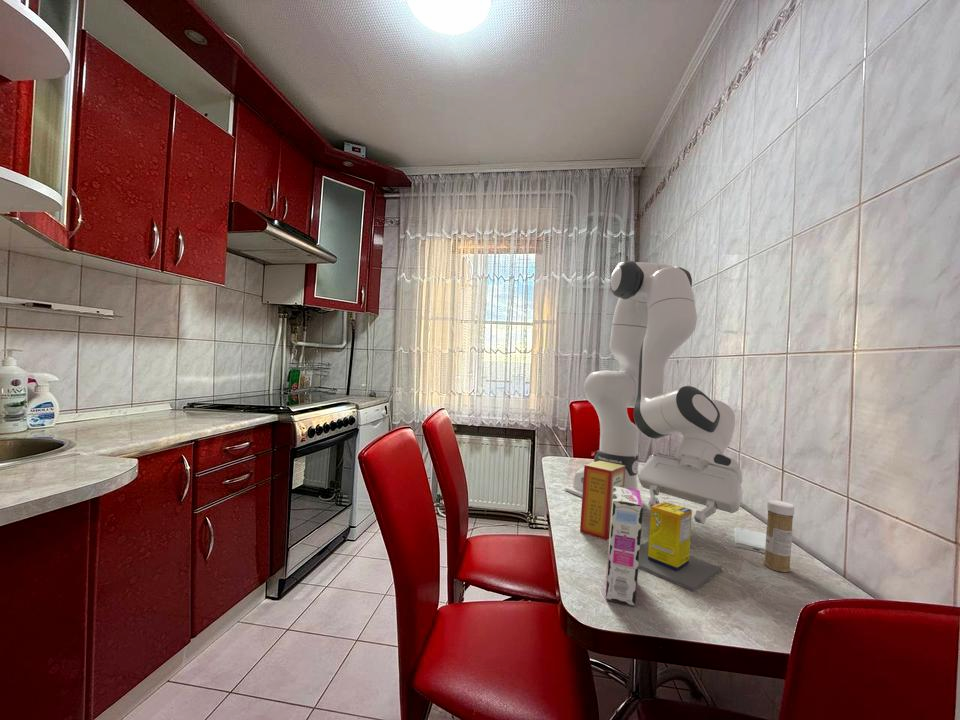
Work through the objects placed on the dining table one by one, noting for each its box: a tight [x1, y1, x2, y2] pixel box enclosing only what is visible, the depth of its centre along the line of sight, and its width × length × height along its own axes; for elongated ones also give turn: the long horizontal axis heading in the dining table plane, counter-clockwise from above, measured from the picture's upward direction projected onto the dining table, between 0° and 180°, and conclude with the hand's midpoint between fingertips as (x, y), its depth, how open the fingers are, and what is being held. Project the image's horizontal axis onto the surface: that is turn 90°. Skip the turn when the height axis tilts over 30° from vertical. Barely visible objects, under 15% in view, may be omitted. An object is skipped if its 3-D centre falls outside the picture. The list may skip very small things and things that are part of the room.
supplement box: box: [648, 501, 693, 571], centre depth 84 cm, size 6×6×11 cm
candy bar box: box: [605, 486, 644, 607], centre depth 74 cm, size 11×5×16 cm, turn 162°
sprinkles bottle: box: [763, 499, 795, 573], centre depth 87 cm, size 5×5×14 cm
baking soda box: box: [579, 461, 626, 541], centre depth 101 cm, size 10×6×16 cm
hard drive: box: [733, 526, 766, 554], centre depth 100 cm, size 2×8×12 cm
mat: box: [638, 540, 723, 592], centre depth 85 cm, size 15×14×1 cm
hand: (674, 513), depth 87 cm, fingers open, 8 cm apart
